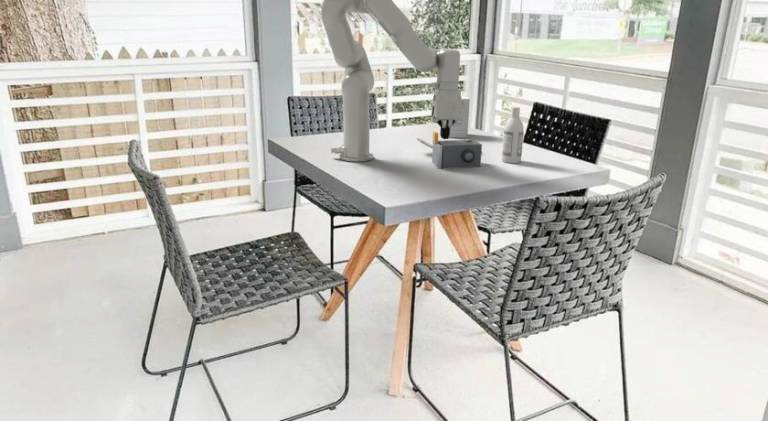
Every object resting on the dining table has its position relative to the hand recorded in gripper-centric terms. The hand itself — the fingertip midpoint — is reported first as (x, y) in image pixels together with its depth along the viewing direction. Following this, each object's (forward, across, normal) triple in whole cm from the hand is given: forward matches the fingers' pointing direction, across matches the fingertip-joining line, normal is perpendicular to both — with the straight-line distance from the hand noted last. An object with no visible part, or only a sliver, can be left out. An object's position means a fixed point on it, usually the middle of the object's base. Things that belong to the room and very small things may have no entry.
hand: (444, 138), depth 212 cm
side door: (+9, -4, -2) cm, 10 cm away
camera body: (+9, +4, -3) cm, 11 cm away
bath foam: (+9, +25, -5) cm, 27 cm away
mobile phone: (+10, +9, +14) cm, 19 cm away
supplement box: (+9, +27, +42) cm, 51 cm away
